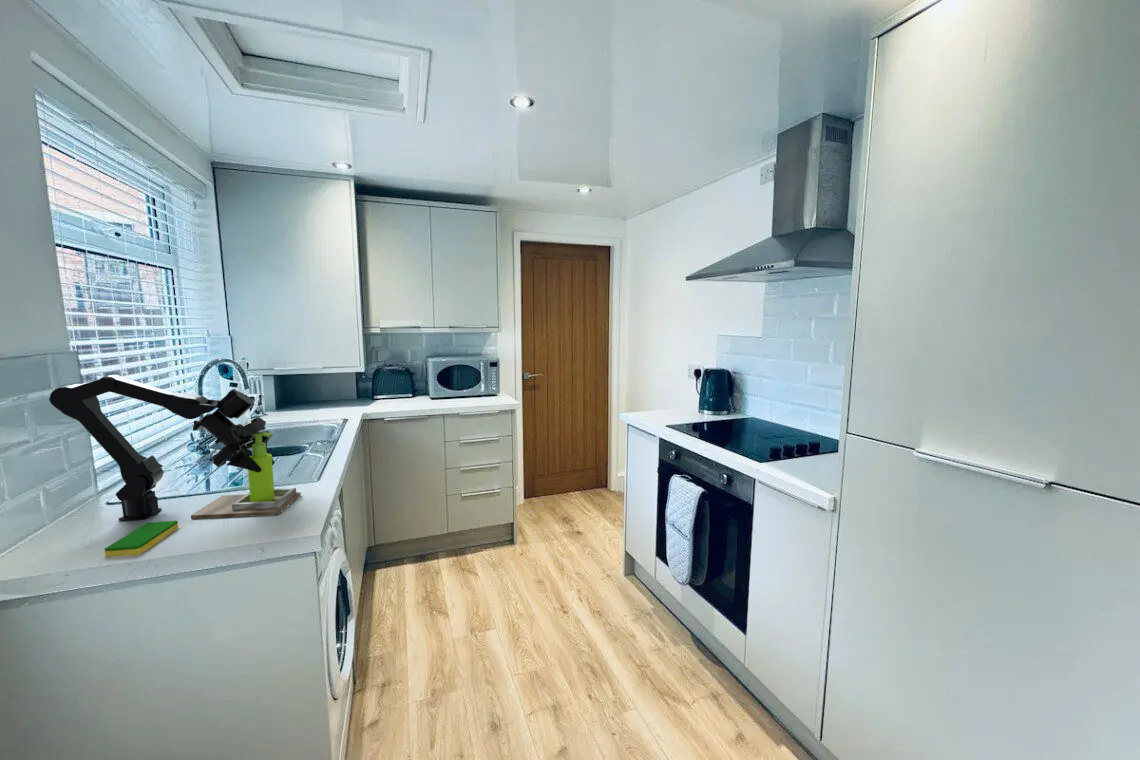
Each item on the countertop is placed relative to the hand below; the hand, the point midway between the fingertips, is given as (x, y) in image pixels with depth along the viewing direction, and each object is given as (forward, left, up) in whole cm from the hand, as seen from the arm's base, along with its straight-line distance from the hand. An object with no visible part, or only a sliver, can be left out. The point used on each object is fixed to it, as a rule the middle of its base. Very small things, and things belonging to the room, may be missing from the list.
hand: (267, 467), depth 132 cm
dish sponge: (-19, -20, -12) cm, 30 cm away
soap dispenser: (-1, 0, -10) cm, 10 cm away
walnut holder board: (-5, -1, -11) cm, 12 cm away
